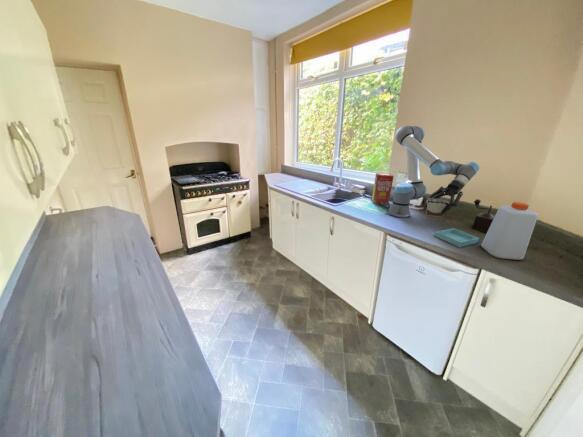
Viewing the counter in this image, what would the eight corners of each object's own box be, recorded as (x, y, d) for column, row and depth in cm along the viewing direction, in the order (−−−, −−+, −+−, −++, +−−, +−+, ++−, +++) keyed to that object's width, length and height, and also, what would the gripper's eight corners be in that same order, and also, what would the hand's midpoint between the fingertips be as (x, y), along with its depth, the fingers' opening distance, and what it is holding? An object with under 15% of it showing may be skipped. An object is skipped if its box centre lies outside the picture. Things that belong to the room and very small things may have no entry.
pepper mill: (494, 229, 157) (504, 203, 150) (490, 233, 150) (500, 207, 143) (467, 222, 168) (475, 198, 161) (462, 226, 161) (470, 201, 154)
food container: (443, 214, 151) (447, 199, 147) (445, 217, 145) (449, 202, 142) (421, 211, 154) (425, 197, 151) (423, 214, 149) (427, 199, 145)
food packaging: (372, 203, 204) (377, 174, 195) (371, 200, 213) (375, 172, 203) (388, 204, 202) (394, 175, 193) (386, 201, 211) (391, 173, 202)
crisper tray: (434, 236, 144) (435, 231, 143) (452, 232, 151) (453, 228, 149) (459, 247, 132) (461, 242, 130) (477, 242, 138) (479, 238, 136)
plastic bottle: (527, 262, 119) (551, 209, 108) (494, 258, 121) (514, 207, 110) (506, 247, 132) (526, 200, 122) (477, 245, 135) (494, 198, 124)
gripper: (478, 192, 139) (453, 220, 139) (442, 183, 158) (420, 208, 158) (475, 183, 135) (449, 212, 135) (439, 176, 154) (416, 201, 154)
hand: (434, 210), depth 146 cm, fingers closed on food container, 10 cm apart
